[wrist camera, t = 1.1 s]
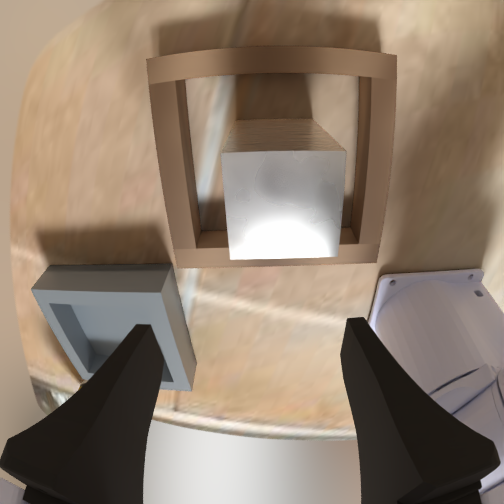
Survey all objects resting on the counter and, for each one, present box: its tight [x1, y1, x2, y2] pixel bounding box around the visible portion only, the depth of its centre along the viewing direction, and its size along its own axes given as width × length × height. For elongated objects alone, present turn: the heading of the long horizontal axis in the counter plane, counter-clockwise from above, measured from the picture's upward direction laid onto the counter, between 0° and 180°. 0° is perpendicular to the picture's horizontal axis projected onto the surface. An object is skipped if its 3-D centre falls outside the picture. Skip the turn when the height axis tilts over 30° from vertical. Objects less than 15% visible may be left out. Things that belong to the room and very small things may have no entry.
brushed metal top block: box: [221, 119, 346, 260], centre depth 14 cm, size 4×4×7 cm
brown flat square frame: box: [146, 46, 397, 268], centre depth 16 cm, size 12×12×2 cm
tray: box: [31, 264, 197, 391], centre depth 22 cm, size 10×10×3 cm
